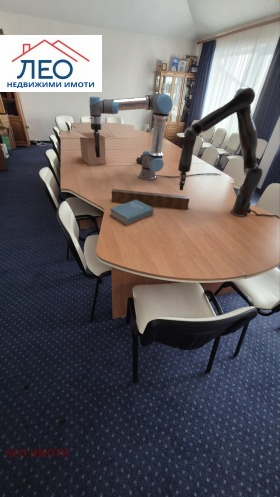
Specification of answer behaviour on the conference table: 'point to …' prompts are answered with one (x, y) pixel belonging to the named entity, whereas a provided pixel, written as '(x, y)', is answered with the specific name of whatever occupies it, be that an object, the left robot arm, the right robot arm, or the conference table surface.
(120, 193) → the beam
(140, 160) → the laser sight
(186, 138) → the right robot arm
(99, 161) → the box
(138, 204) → the book
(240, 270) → the conference table surface
